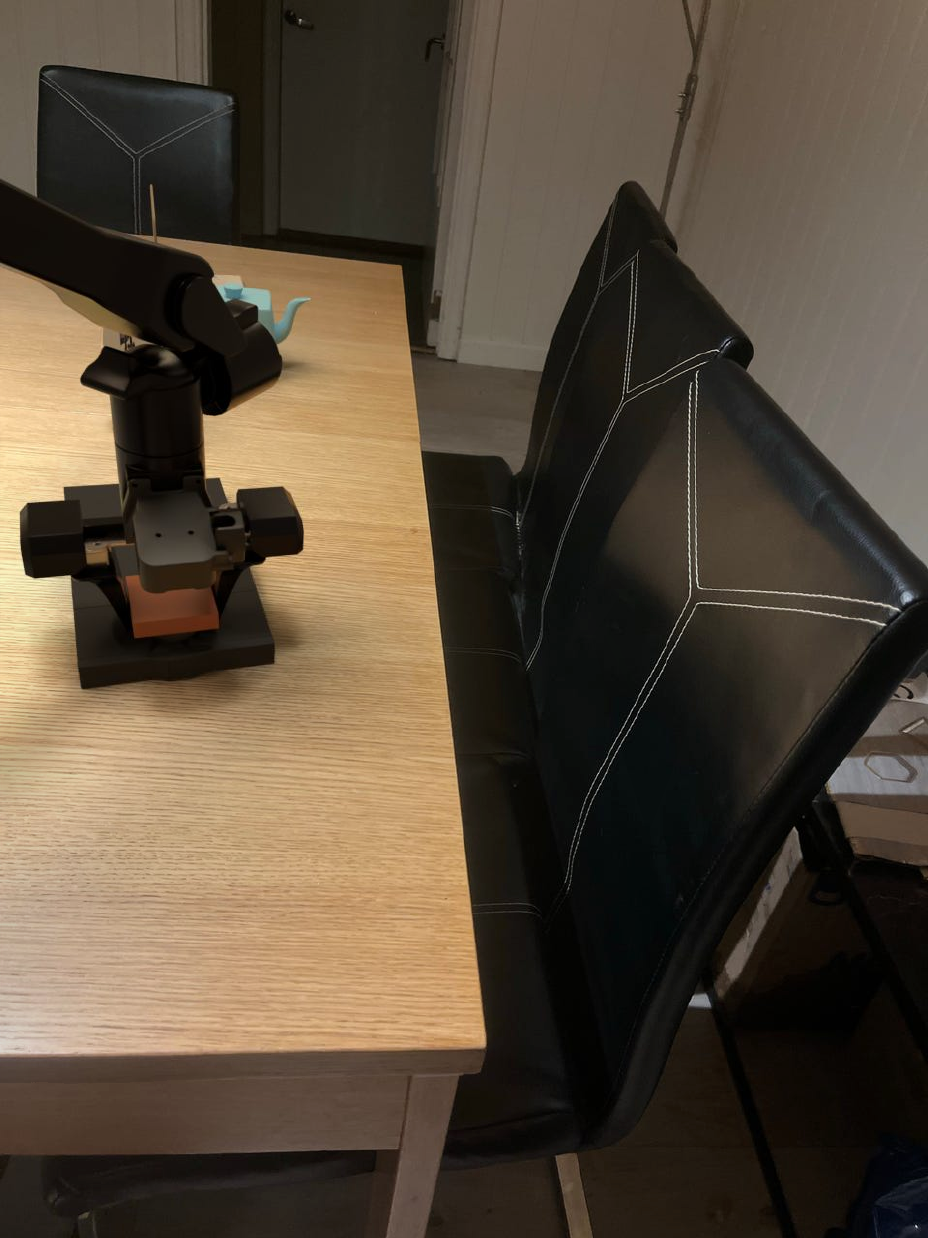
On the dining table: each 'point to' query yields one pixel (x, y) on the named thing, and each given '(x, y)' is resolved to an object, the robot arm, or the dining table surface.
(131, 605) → the reddish orange rectangular block
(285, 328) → the teapot
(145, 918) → the dining table surface
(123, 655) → the back pad
